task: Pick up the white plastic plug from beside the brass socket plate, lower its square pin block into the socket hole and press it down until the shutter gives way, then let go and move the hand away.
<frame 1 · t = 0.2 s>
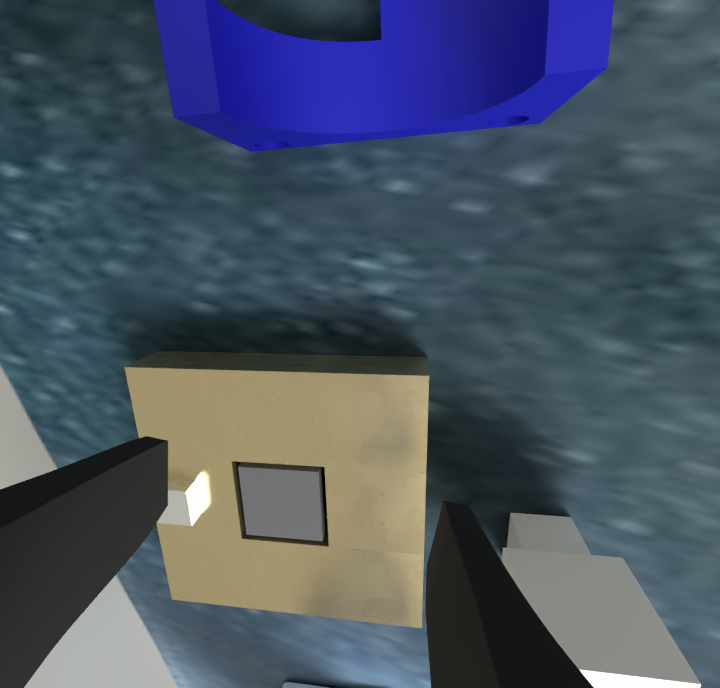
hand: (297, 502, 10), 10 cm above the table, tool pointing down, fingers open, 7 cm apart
shutter: (282, 500, 20), point 2 cm above the table, slide at 0.0 cm
cable clip: (385, 79, 16), on the table
plug: (537, 538, 21), on the table
socket plate: (295, 474, 22), on the table
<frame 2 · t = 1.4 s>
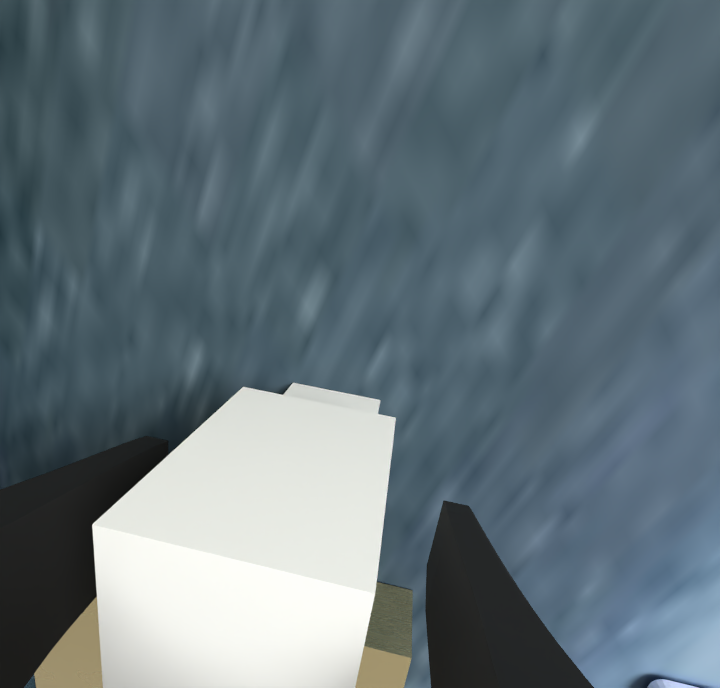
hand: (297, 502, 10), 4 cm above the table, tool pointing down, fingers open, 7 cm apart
plug: (330, 430, 14), on the table
socket plate: (228, 670, 18), on the table
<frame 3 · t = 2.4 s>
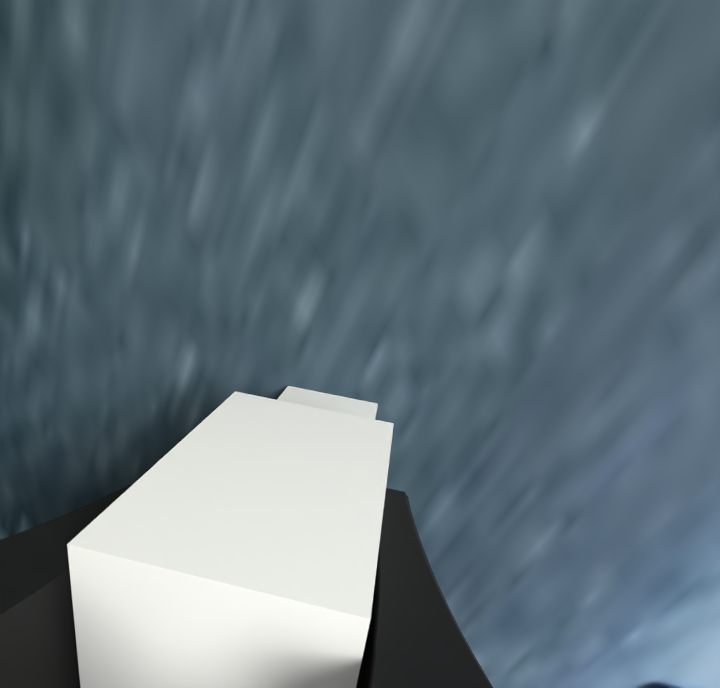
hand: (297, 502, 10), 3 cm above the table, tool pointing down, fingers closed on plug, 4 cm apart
plug: (326, 434, 13), on the table, touching gripper
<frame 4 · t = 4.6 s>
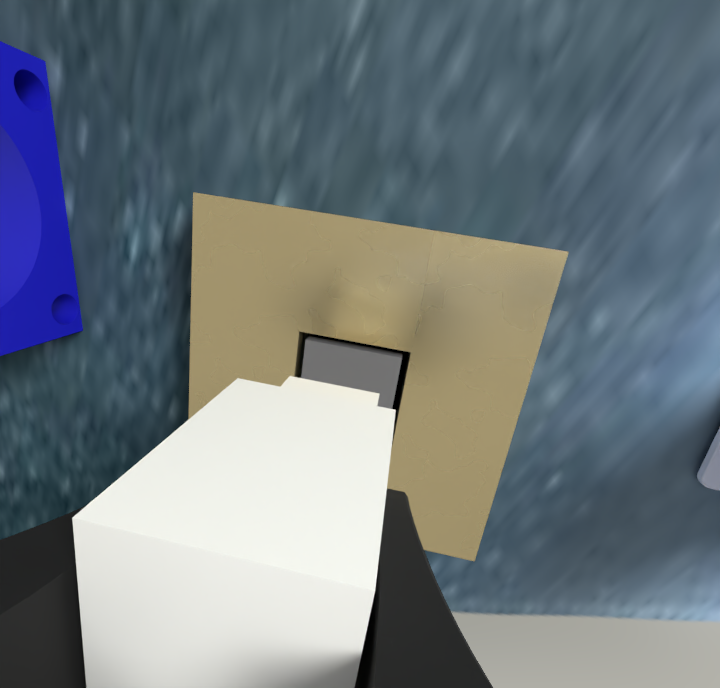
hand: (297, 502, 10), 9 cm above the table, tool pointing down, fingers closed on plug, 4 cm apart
shutter: (347, 390, 17), point 2 cm above the table, slide at 0.0 cm
cable clip: (30, 205, 19), on the table
plug: (328, 425, 13), point 6 cm above the table, touching gripper
socket plate: (355, 372, 19), on the table
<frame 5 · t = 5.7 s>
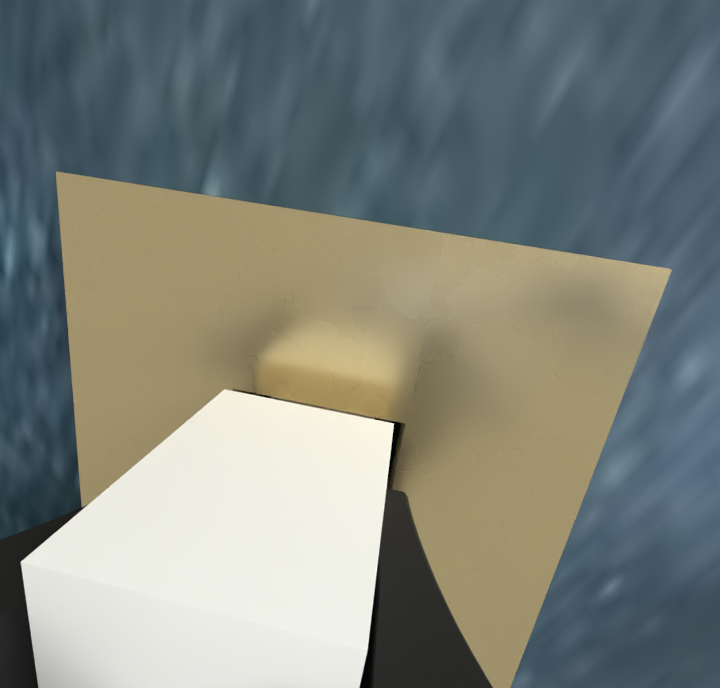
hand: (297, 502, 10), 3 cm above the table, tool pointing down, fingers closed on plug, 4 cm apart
shutter: (325, 439, 13), resting in socket plate, slide at -1.9 cm, touching plug
plug: (323, 435, 13), point 1 cm above the table, touching gripper, shutter
socket plate: (327, 435, 13), on the table
when the fingers open (3 cm above the table, at t = 6.9 s): plug stays where it is, resting on shutter.
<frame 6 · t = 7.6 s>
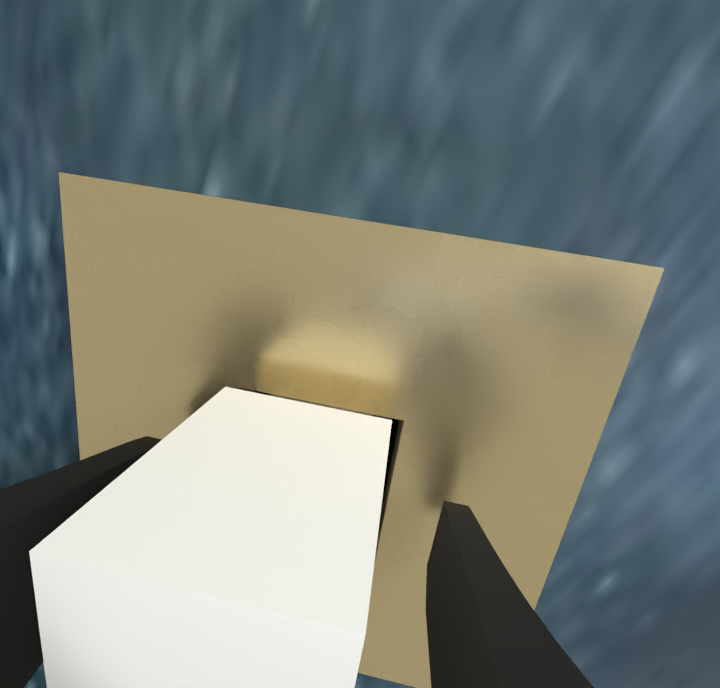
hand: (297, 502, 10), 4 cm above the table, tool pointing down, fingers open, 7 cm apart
shutter: (325, 437, 13), resting in socket plate, slide at -1.9 cm, touching plug
plug: (323, 433, 13), point 1 cm above the table, touching shutter
socket plate: (326, 432, 13), on the table
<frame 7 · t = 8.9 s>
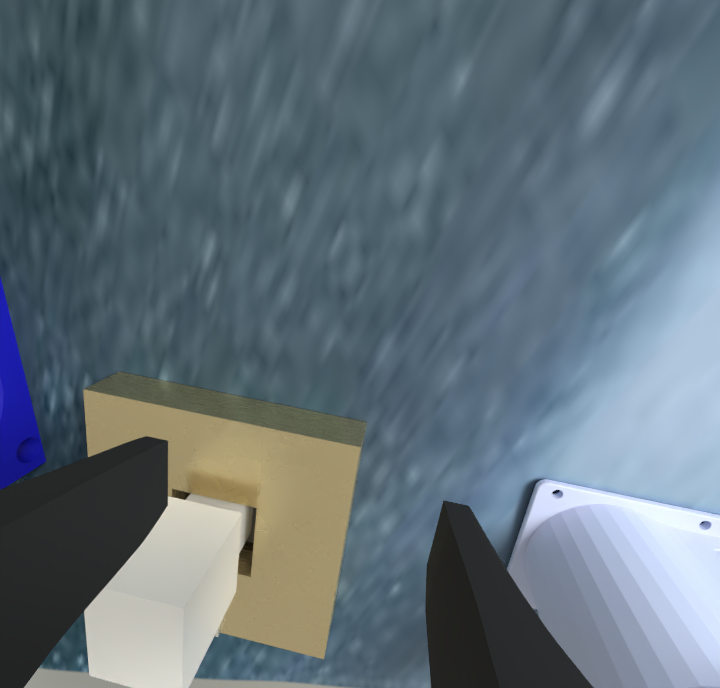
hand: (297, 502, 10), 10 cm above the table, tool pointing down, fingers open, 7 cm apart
shutter: (230, 506, 23), resting in socket plate, slide at -1.9 cm
plug: (228, 505, 23), point 1 cm above the table
socket plate: (232, 502, 23), on the table
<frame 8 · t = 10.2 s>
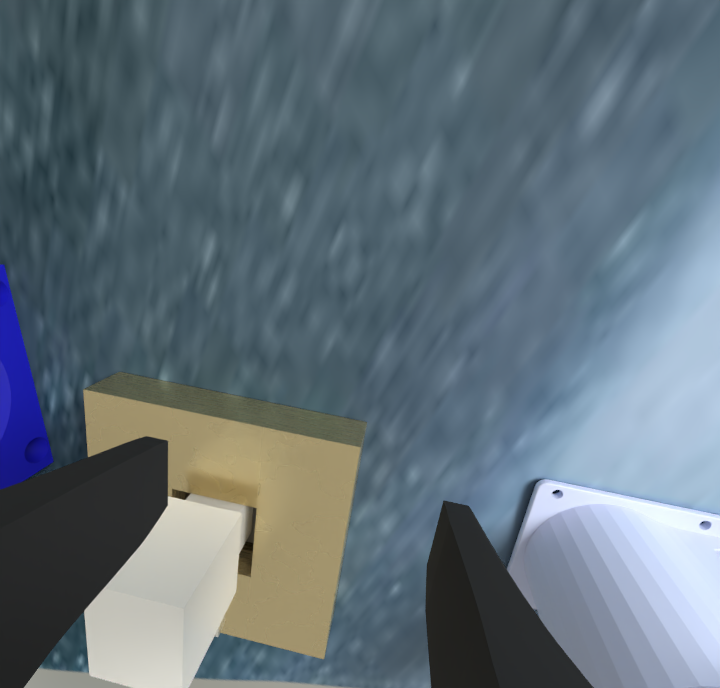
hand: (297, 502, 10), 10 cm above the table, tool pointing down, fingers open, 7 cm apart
shutter: (230, 506, 23), resting in socket plate, slide at -1.9 cm, touching plug
cable clip: (3, 366, 23), on the table
plug: (228, 505, 23), point 1 cm above the table, touching shutter
socket plate: (232, 502, 23), on the table
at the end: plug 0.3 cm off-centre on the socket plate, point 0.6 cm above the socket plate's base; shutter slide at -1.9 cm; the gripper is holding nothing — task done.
